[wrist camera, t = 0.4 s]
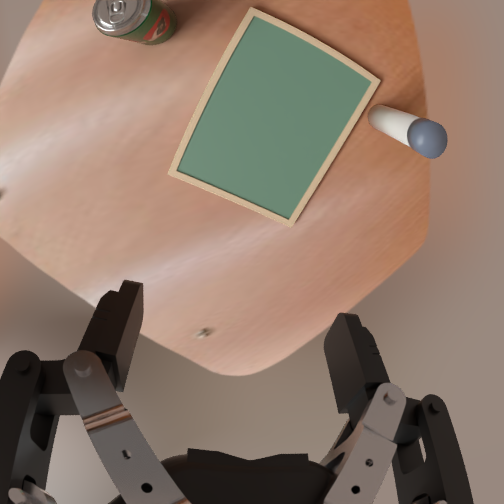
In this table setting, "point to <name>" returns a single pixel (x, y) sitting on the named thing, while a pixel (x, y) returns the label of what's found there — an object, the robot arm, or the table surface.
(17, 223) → the table surface
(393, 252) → the table surface
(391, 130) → the marker
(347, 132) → the slate
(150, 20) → the soda can
